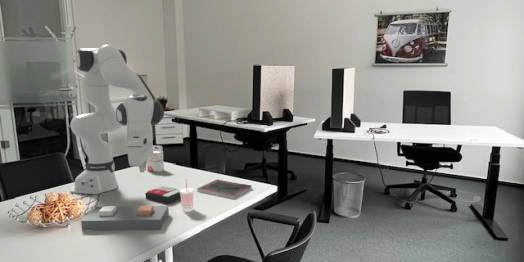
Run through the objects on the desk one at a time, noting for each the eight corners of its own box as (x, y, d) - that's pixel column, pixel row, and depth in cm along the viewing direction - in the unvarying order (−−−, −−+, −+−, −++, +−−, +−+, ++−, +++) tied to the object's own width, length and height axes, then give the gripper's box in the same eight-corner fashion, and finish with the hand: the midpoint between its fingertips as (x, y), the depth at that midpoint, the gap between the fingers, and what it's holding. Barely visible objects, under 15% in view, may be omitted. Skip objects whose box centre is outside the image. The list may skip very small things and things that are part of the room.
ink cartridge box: (147, 171, 219) (145, 146, 216) (151, 168, 224) (149, 145, 221) (160, 172, 217) (158, 147, 214) (164, 169, 222) (163, 145, 219)
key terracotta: (137, 220, 147) (137, 210, 146) (141, 214, 152) (140, 205, 151) (150, 219, 147) (149, 210, 147) (153, 214, 152) (153, 205, 151)
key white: (99, 220, 147) (98, 211, 146) (104, 215, 152) (103, 206, 151) (112, 220, 147) (111, 211, 146) (116, 215, 152) (116, 206, 151)
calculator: (161, 185, 184) (184, 188, 177) (162, 193, 185) (185, 197, 177) (144, 191, 175) (167, 195, 168) (145, 200, 176) (168, 205, 168)
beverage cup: (196, 210, 161) (195, 179, 159) (183, 213, 158) (181, 182, 155) (191, 206, 166) (190, 175, 164) (178, 208, 163) (176, 178, 160)
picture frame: (251, 190, 188) (217, 183, 199) (251, 185, 188) (216, 178, 198) (233, 200, 174) (197, 192, 185) (233, 195, 174) (197, 188, 184)
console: (82, 230, 143) (81, 220, 142) (97, 215, 156) (96, 206, 156) (160, 229, 143) (160, 219, 143) (168, 214, 157) (168, 205, 156)
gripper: (140, 131, 154) (142, 164, 157) (123, 142, 134) (126, 179, 137) (156, 131, 154) (157, 164, 157) (141, 142, 134) (143, 179, 137)
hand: (143, 171), depth 147 cm, fingers closed
